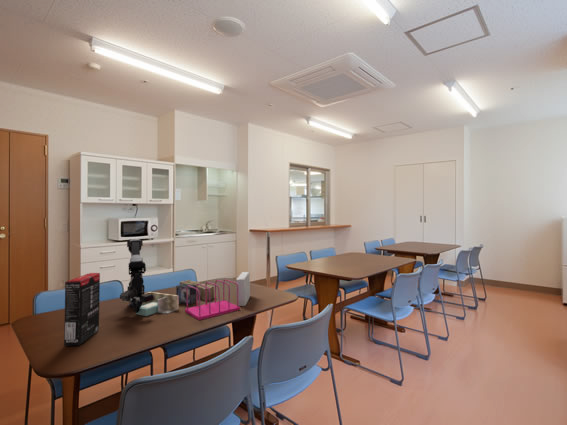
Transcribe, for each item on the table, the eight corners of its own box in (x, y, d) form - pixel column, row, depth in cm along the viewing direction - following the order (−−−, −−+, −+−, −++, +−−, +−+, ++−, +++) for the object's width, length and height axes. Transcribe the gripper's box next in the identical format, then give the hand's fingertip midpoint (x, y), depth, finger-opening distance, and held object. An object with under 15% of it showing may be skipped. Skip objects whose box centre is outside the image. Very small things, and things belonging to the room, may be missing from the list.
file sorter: (184, 312, 168) (184, 283, 168) (224, 303, 184) (224, 277, 184) (198, 320, 155) (198, 289, 155) (240, 309, 171) (240, 282, 171)
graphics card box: (85, 331, 142) (84, 272, 142) (101, 330, 143) (100, 272, 142) (63, 347, 125) (62, 281, 125) (81, 346, 126) (81, 280, 125)
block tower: (215, 299, 195) (189, 290, 214) (215, 286, 195) (189, 278, 213) (204, 302, 189) (179, 293, 208) (205, 289, 189) (179, 280, 207)
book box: (136, 314, 165) (136, 307, 165) (154, 308, 176) (154, 301, 176) (146, 316, 161) (146, 309, 161) (164, 310, 172) (164, 303, 172)
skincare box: (242, 296, 199) (242, 271, 199) (250, 296, 199) (250, 271, 199) (236, 306, 178) (235, 279, 178) (245, 306, 178) (245, 279, 178)
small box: (175, 303, 184) (175, 285, 184) (182, 300, 190) (182, 283, 190) (189, 305, 180) (189, 287, 180) (196, 301, 186) (196, 284, 186)
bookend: (157, 312, 167) (157, 299, 167) (166, 308, 174) (166, 296, 174) (167, 314, 165) (167, 301, 165) (176, 310, 171) (176, 297, 171)
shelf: (137, 309, 173) (137, 295, 173) (149, 305, 180) (149, 291, 180) (167, 314, 164) (167, 299, 164) (178, 309, 172) (178, 295, 172)
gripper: (110, 285, 159) (110, 315, 159) (137, 288, 151) (137, 319, 151) (128, 280, 169) (128, 308, 169) (154, 283, 162) (154, 313, 162)
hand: (136, 312), depth 162 cm, fingers closed
